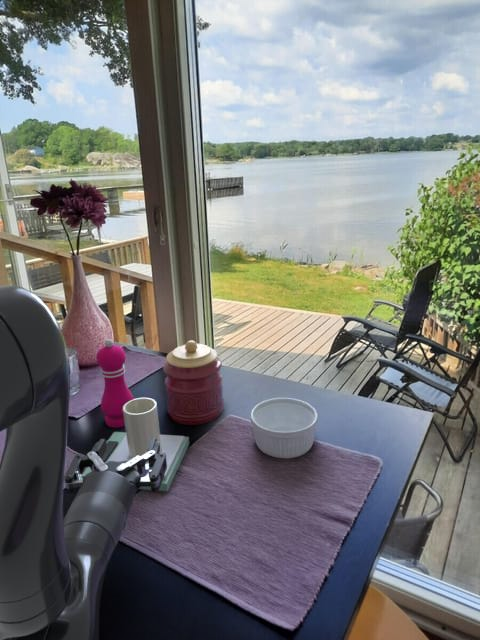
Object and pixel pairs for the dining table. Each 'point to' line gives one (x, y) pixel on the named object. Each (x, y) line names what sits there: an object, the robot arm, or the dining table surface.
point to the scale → (174, 455)
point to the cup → (141, 425)
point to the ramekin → (284, 427)
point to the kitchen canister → (193, 384)
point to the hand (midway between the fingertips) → (129, 442)
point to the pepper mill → (113, 383)
